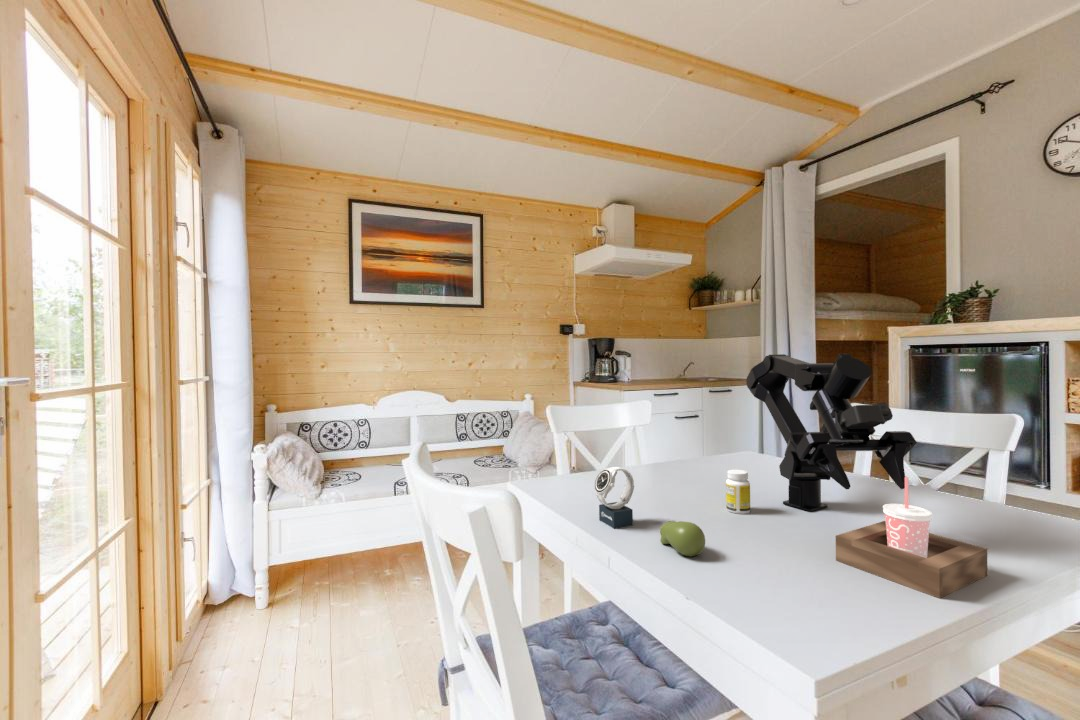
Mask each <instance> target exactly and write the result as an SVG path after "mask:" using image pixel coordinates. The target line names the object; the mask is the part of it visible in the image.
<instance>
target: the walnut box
mask: <svg viewBox="0 0 1080 720" xmlns="http://www.w3.org/2000/svg"><path fill="white" fill-rule="evenodd" d="M835 561H837V562H839V563H842V564H845V565H848V566H850V567H852V566H853V568H855V569H859V570H861V571H863V570H864V572H866V571H867V573H869V572H870V574H871V575H874V574H875V576H877V575H878V576H877V577H880V578H883V579H886V580H889V581H891V582H894V583H897V584H900V585H902V586H904V587H908V588H910V589H913V590H916V591H918V592H921V593H923V594H926V595H930V596H931V597H932V596H933V597H934V598H938V599H941V598H944V597H946V596H947V595H950V594H952V593H954V592H956V591H957V590H958V591H959V590H960V589H962V588H965V587H966V586H968V585H970V584H973V583H974V582H977V581H978V580H981V579H983V578H985V577H987V576H988V548H986V547H982V546H980V545H975V544H971V543H967V542H964V541H960V540H957V539H954V538H953V539H952V538H949V537H945V536H942V535H939V534H934V533H931V532H929V538H928V552H927V558H924V557H921V556H918V555H915V554H912V553H908V552H905V551H902V550H899V549H895V548H892V547H889V546H888V545H887V532H886V520H882V521H879V522H875V523H872V524H870V525H866V526H864V527H859V528H855V529H853V530H850V531H846V532H844V533H840V534H836V535H835Z"/></svg>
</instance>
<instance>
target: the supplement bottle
mask: <svg viewBox="0 0 1080 720" xmlns="http://www.w3.org/2000/svg"><path fill="white" fill-rule="evenodd" d="M748 479H749V473H748V471H747V470H743V469H728V470H727V479H726V480H725V498H726V499H725V500H726V502H725V503H726V508H725V509H726V511H728V512H729V513H732V514H737V515H738V514H739V515H745V514H749V513H750V512H751V483H750V481H749V480H748Z"/></svg>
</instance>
